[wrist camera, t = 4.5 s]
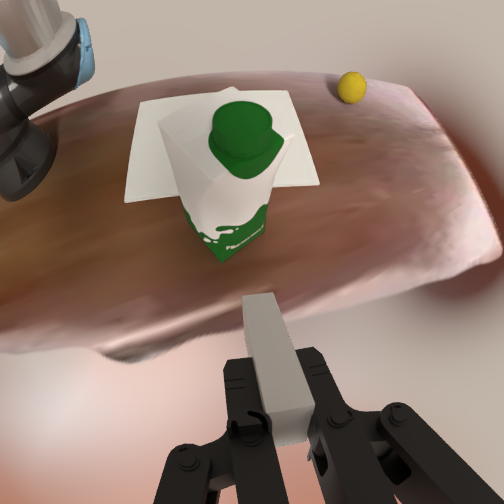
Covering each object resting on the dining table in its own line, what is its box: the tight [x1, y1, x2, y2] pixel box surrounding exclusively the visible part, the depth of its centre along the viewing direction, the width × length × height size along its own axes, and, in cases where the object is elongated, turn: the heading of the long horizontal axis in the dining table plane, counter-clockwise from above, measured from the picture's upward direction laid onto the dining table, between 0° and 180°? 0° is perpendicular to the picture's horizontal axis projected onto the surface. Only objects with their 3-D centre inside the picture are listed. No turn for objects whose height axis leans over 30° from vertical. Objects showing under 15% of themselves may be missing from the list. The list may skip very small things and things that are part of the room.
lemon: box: [337, 72, 367, 103], centre depth 44 cm, size 6×6×8 cm
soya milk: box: [157, 86, 295, 263], centre depth 27 cm, size 9×9×20 cm
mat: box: [124, 91, 320, 203], centre depth 41 cm, size 22×28×1 cm
